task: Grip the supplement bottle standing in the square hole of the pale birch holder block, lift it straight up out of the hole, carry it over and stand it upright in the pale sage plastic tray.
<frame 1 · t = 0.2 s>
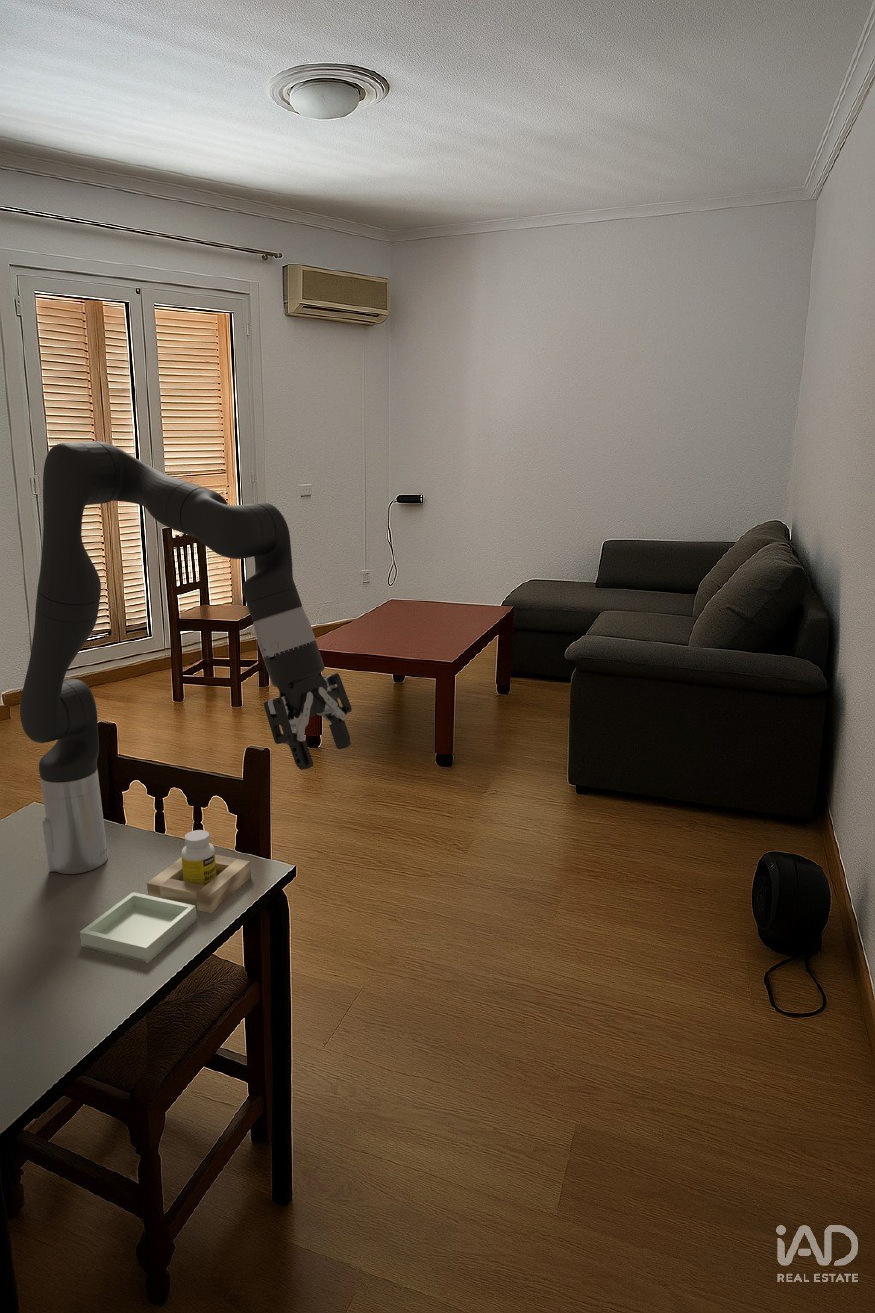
hand: (326, 757, 121), 31 cm above the table, tool tilted 20°, fingers open, 8 cm apart
tray: (140, 932, 135), on the table
supplement bottle: (201, 889, 148), resting in holder block
holder block: (201, 888, 147), on the table
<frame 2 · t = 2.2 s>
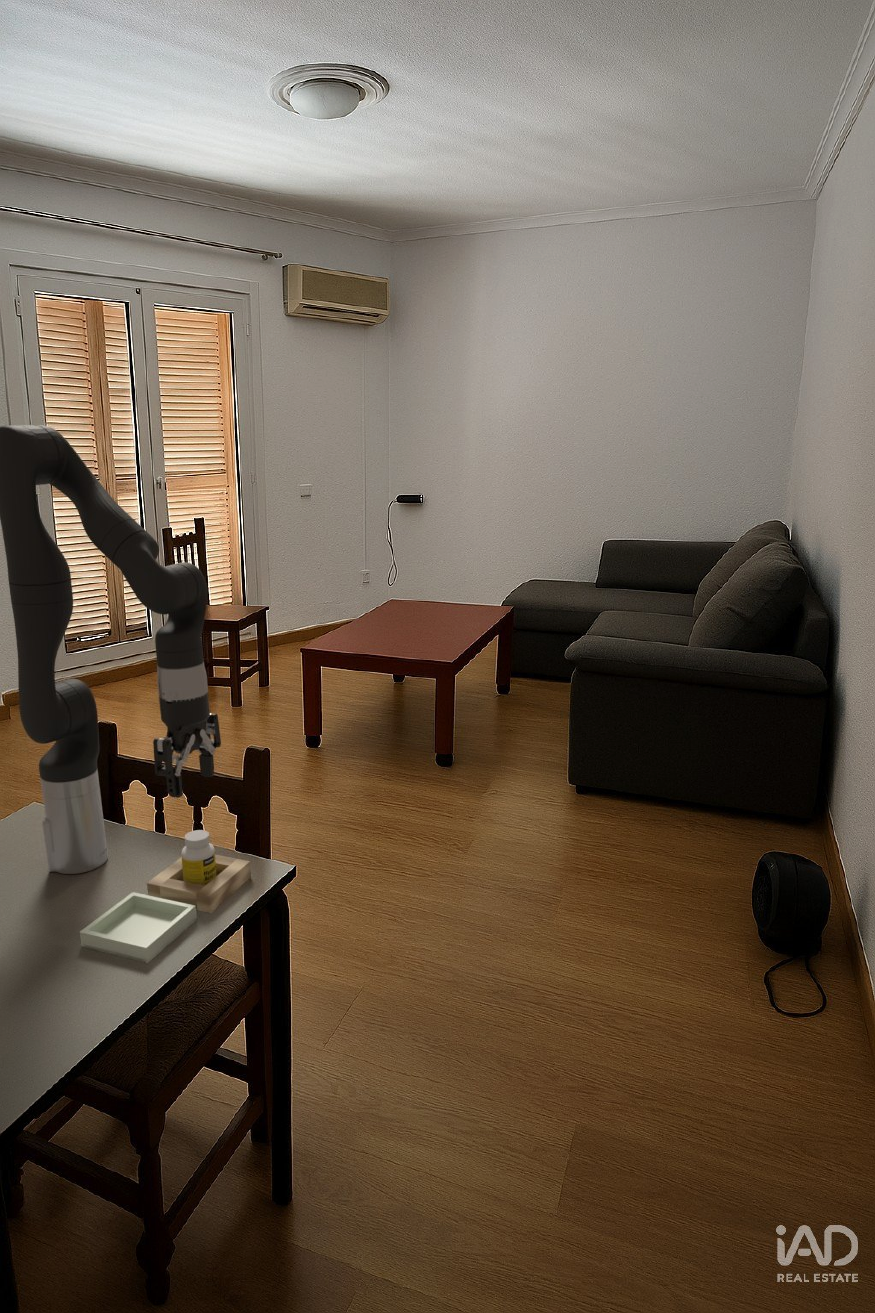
hand: (192, 786, 142), 19 cm above the table, tool pointing down, fingers open, 8 cm apart
nothing on the table moved.
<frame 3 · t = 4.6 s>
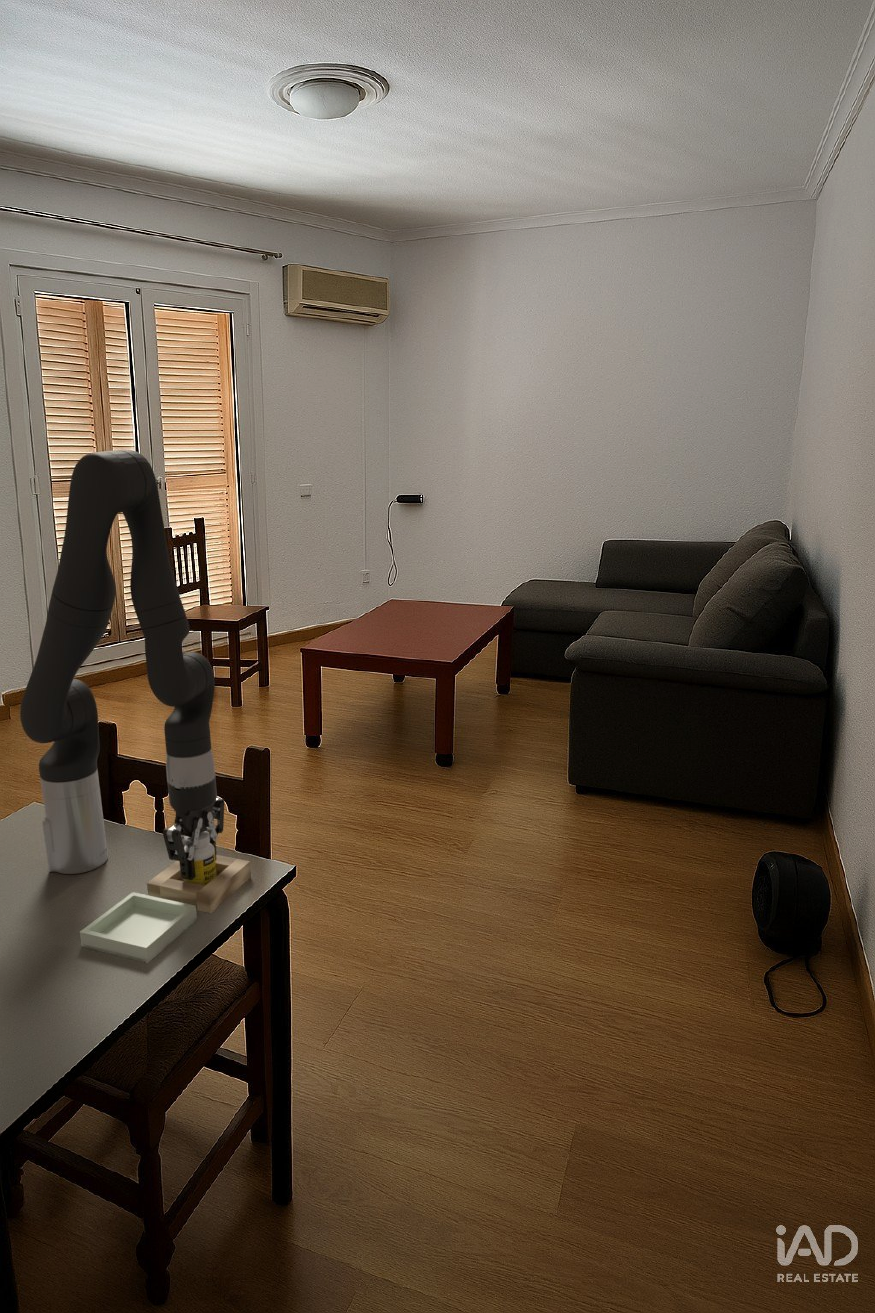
hand: (199, 869, 147), 3 cm above the table, tool pointing down, fingers closed on supplement bottle, 5 cm apart
supplement bottle: (201, 889, 148), resting in holder block, touching gripper
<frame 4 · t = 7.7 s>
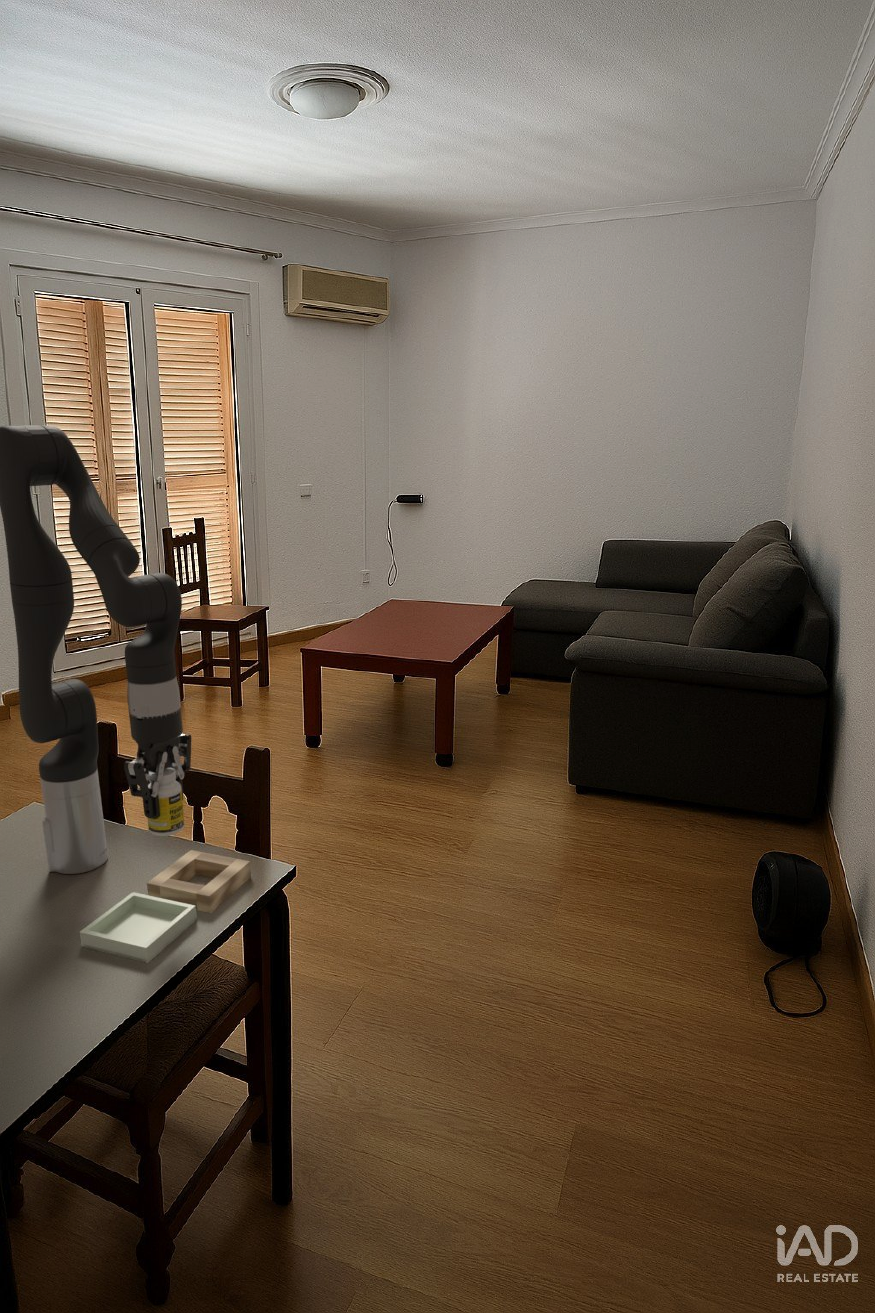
hand: (164, 809, 137), 17 cm above the table, tool pointing down, fingers closed on supplement bottle, 5 cm apart
supplement bottle: (167, 830, 138), point 14 cm above the table, touching gripper
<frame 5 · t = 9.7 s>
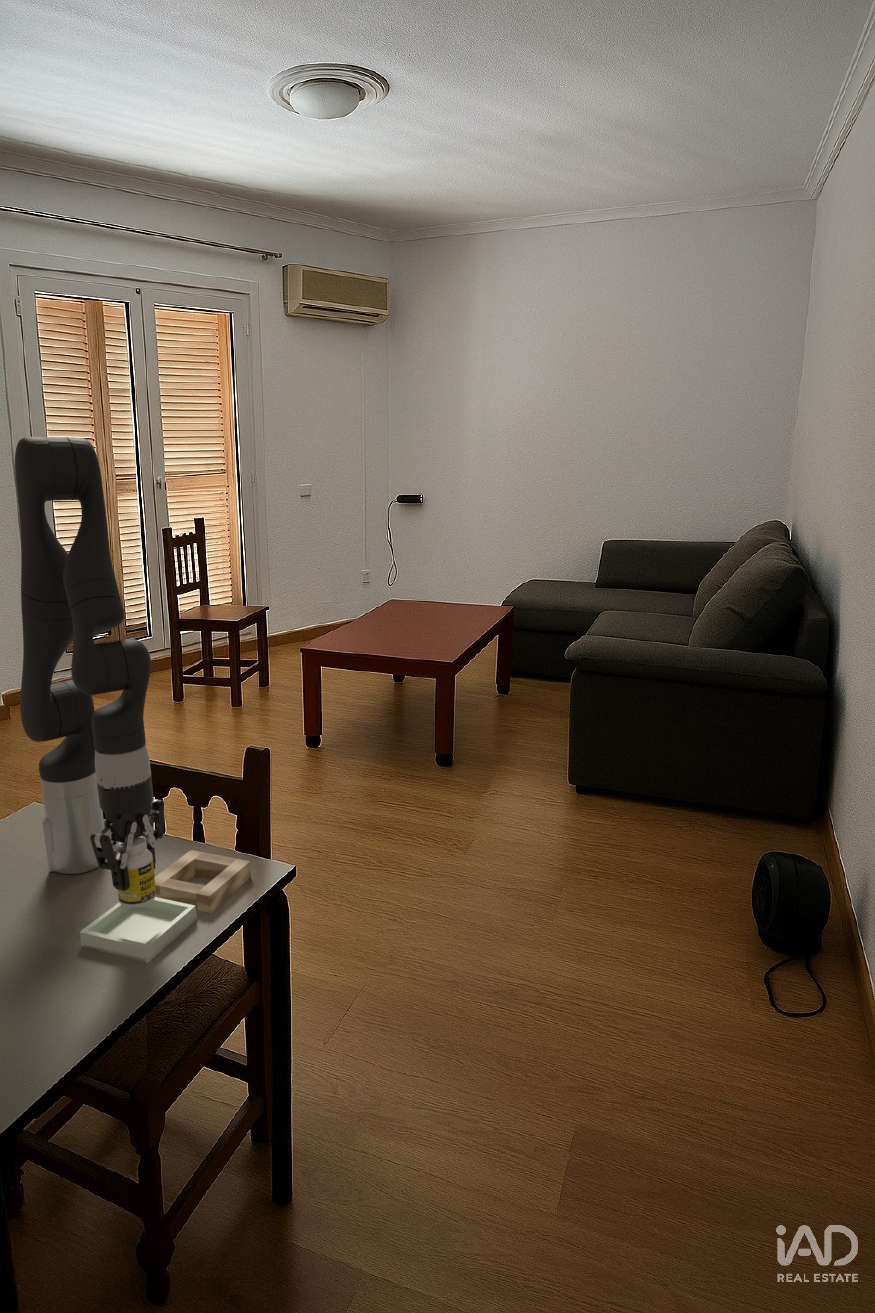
hand: (135, 878, 132), 9 cm above the table, tool pointing down, fingers closed on supplement bottle, 5 cm apart
supplement bottle: (138, 900, 133), point 6 cm above the table, touching gripper
when the fingers open (5 cm above the table, at t = 11.3 s): supplement bottle drops 1 cm, resting on tray.
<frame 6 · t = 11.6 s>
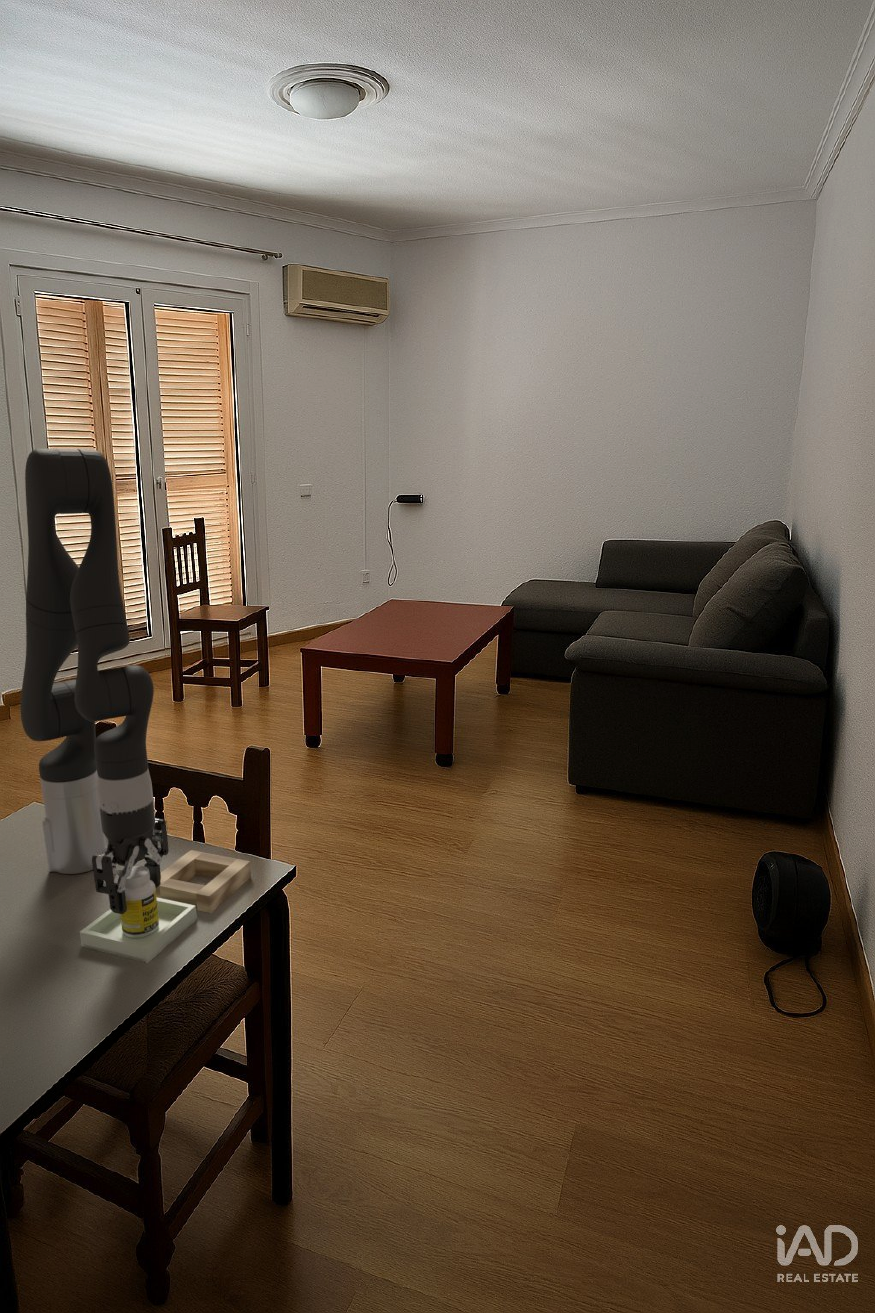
hand: (136, 898, 133), 6 cm above the table, tool pointing down, fingers open, 7 cm apart
supplement bottle: (141, 930, 135), resting on tray
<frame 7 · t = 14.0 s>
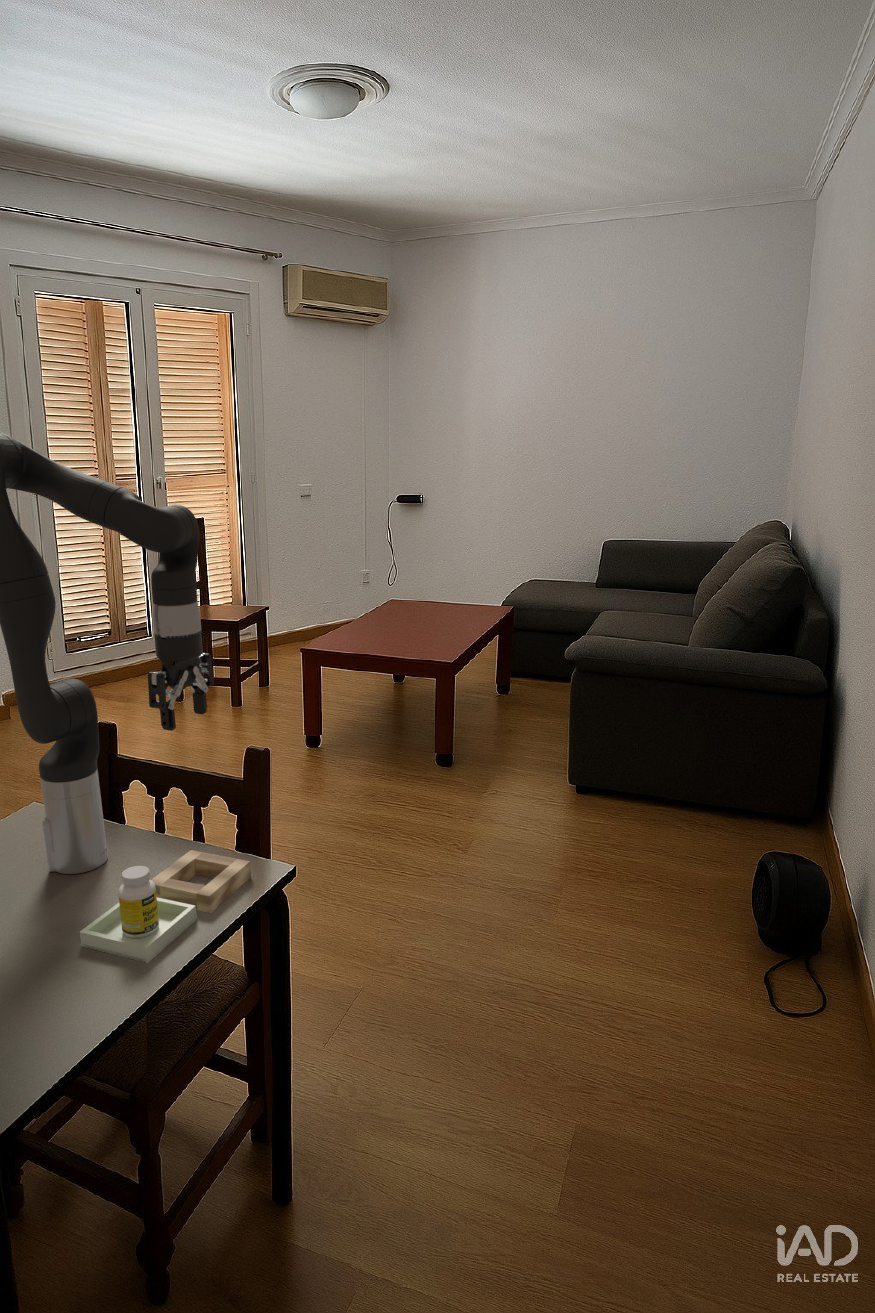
hand: (185, 721, 149), 27 cm above the table, tool pointing down, fingers open, 8 cm apart
nothing on the table moved.
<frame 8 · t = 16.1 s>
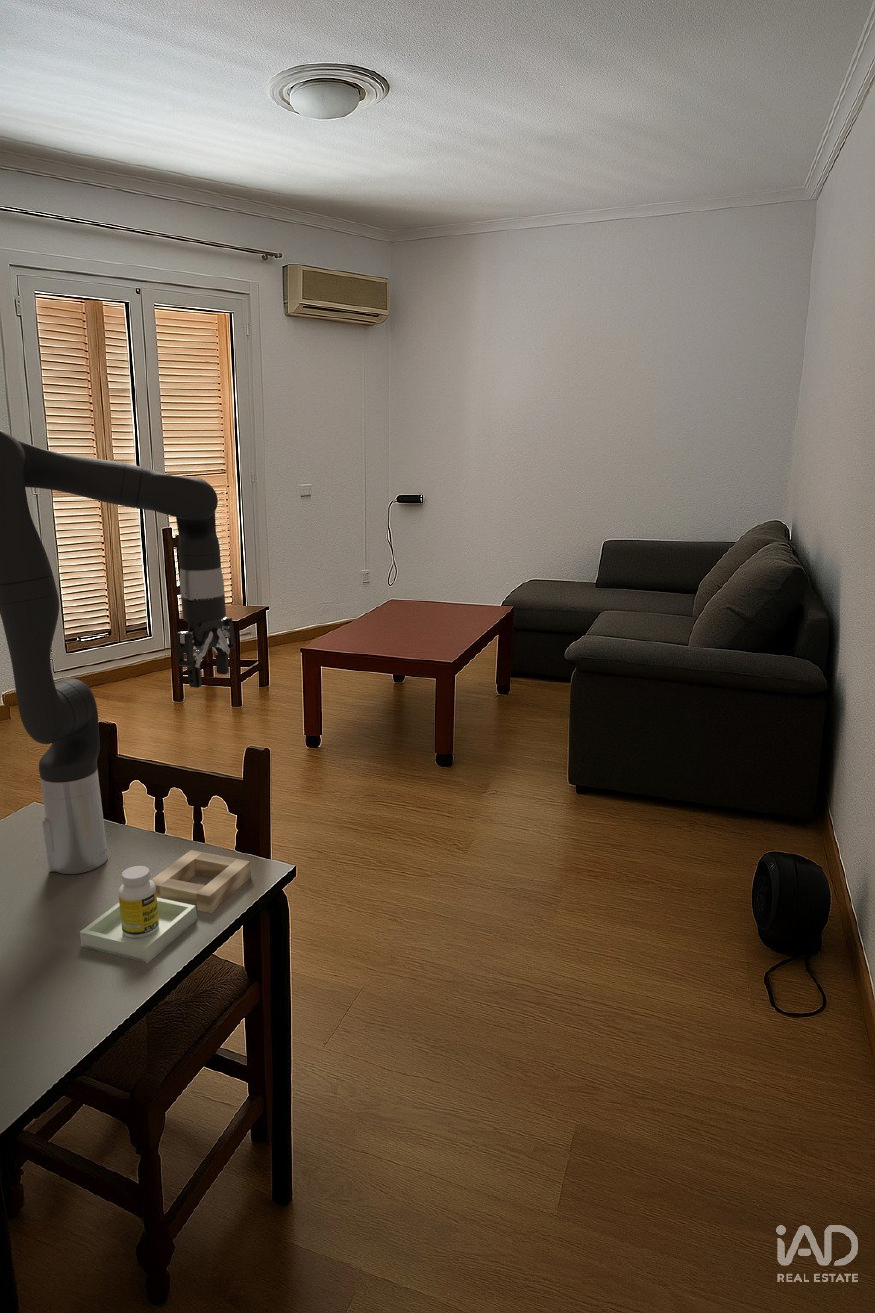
hand: (209, 680, 160), 30 cm above the table, tool pointing down, fingers open, 8 cm apart
nothing on the table moved.
at the end: supplement bottle inside the target area on the tray (0.2 cm from its centre), point 0.3 cm above the tray's base; supplement bottle tilted 0°; the gripper is holding nothing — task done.
